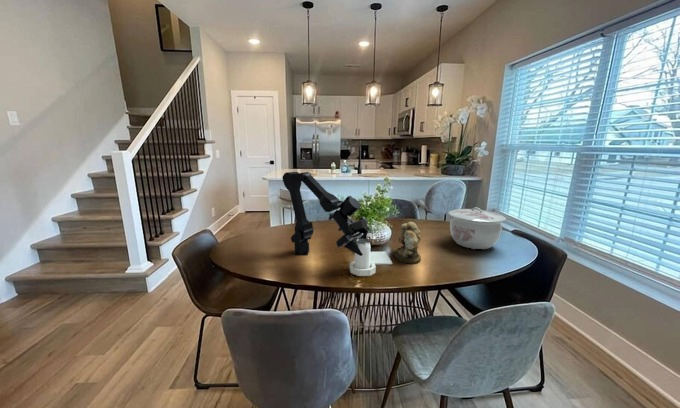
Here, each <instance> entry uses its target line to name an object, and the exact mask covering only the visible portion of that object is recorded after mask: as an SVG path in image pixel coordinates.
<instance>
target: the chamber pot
mask: <svg viewBox="0 0 680 408" xmlns="http://www.w3.org/2000/svg"><path fill="white" fill-rule="evenodd" d="M447 214H448V215H449V216H451V217H452V218H451V220H450V222H449V228H450V234H451V237H452V238H453V240H454V242H455V243H456V244H457V245H459V246H461V247H464V248H465V247H466V248H465V249H469V248H471V249H470V250H475V249H482V250H488V249H491V248H492V247H493V246H495V245H496V243H497V242H498V241H499V239H500V238H501V237H500V236H501V234H502V230H503V227H502V224H501V223H502V222H505V221H507V218H506V216H504V215H502V214H501V213H498V212H495V211H494V212H493V211H490V210H485V209H481V208H479V207H477V206H475V207H472V208H457V209H452V210H449V211H448V212H447Z"/></svg>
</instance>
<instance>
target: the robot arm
mask: <svg viewBox="0 0 680 408" xmlns="http://www.w3.org/2000/svg"><path fill="white" fill-rule="evenodd" d="M281 179H282V182H283V184H284V187H285V188H286V189H287V190H288V192H289V196H290V199H291V204H292V208H293V209H292V210H293V213H294V218H295V225H294V233H293V234H292V236H291V237H290V240H291V242H292V243H294V253H293V255H295V256H298V255H299V256H302V255H303V256H304V255H305V256H307V255H308V254H309V253H310V242H309V240H311V239H312V236H313V234H314V230H315V229H314V226H313V221H309V220H308V219H307V215H306V214H307V213H306V209H305V206H304V202H303V198H302V192H301V187H302V183H303V184H304V185H305V186H306V187H307V188H308V189H309V190H310V192H311V193H313V195H314V196H315V197H316V198H317V200H318V201H319V205H320V206H321V207H322V209H323V210H324V211H323V212H326V213H329V217H328V221H332V220H334V222H335V223H336V225H337V226H338V229H337V230H338V231H339V232H342V233H343V235H342V236H341V237H339V238H338V239H337V240H336V243H335V244H336V246H337V248H338V249H340V248H342V247H343V249H348V251H351V252H353V253H354V254H355V253H356V254H358V255H360V256H362V255H363V254H362V253H361V251H360V250H359V248H358V245H357V244H356V240H358V239H366V240H368V238H367V237H368V233H369V232H370V231H371V229H370V227H369V226H368V222H369V220H368V219H367V218H366V217H365V216H362V217H359V219H358V220H357V221H355V220H354V219H350V217H353V215H354V214H355V213H356V212H358V210H360V209H361V207H362V206H361V203H360V201H359V200H357V199H356V198H354V197H353V196H351V195H347V196H346V197H345V199H344V200H340V199H339V197H337V196H335V195H334V194H333V193H331V192H328V191H327V190H326V189H325V188H324V187H323V186H322V185H321V183H319V182H318V181H317V180H316V179H315V178H314V176H313V175H312V173H311V172H310V171H304V172H303V171H302V172H298V171H287V172H284V173H283V176H282V177H281ZM333 211H334V212H333ZM331 212H332V213H331Z"/></svg>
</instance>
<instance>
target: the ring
mask: <svg viewBox="0 0 680 408" xmlns="http://www.w3.org/2000/svg"><path fill="white" fill-rule="evenodd" d="M376 268H377V266H376V265H375V264H374V263H373V262H370V268H369V269H358V268H356V267H354V261H351V262H349V272H350V274H352V275H356V276H357V277H358V276H359V277H369V276H370V277H371V276H372V275H374V274H376V271H377V269H376Z"/></svg>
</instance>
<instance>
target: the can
mask: <svg viewBox="0 0 680 408" xmlns="http://www.w3.org/2000/svg"><path fill="white" fill-rule="evenodd" d="M370 243H371V242H370V240H368V239H367V240H366V239H358V240H357V239H356V244H357V245H358V248H359V250H360V251H361V253H362V254H363V255H362V256H360V255H358V254H356V253H355V252H354V258H353V259H354V267H356V268H358V269H369V268H370V252H371V248H372V247H371V244H370Z"/></svg>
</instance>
